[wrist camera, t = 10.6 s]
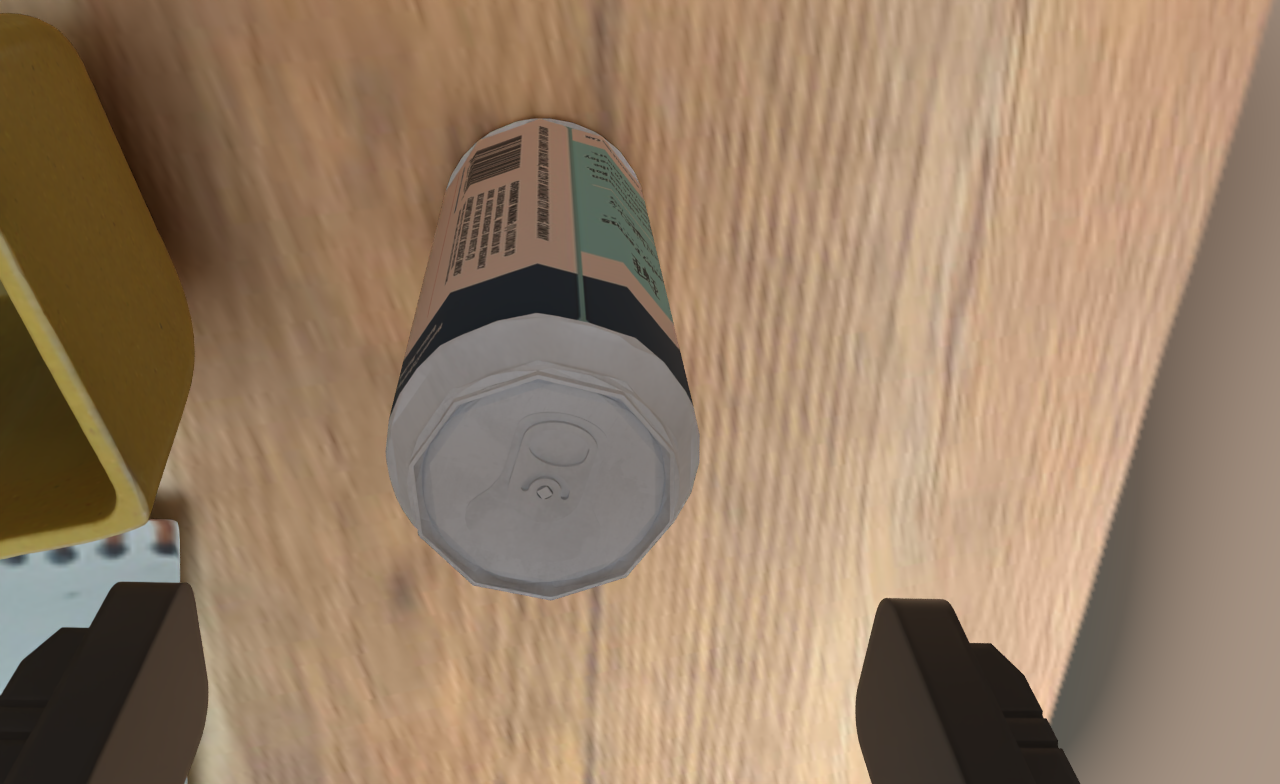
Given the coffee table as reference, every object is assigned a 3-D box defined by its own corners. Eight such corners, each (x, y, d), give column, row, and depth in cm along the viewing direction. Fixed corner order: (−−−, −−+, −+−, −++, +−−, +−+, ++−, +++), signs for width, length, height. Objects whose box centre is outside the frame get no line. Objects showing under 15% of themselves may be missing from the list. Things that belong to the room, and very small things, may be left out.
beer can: (425, 273, 27) (348, 588, 16) (470, 86, 24) (414, 309, 14) (611, 320, 28) (651, 644, 17) (669, 145, 25) (755, 394, 15)
